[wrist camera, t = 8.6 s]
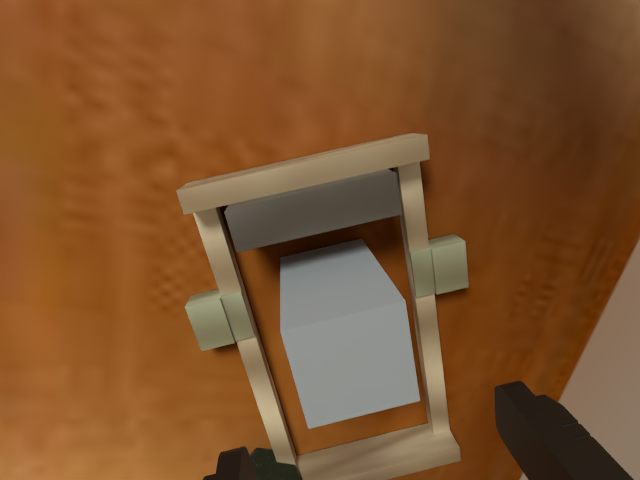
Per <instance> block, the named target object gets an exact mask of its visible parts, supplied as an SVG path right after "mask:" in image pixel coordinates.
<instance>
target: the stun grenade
mask: <svg viewBox="0 0 640 480" xmlns="http://www.w3.org/2000/svg"><path fill="white" fill-rule="evenodd" d="M249 456H250V458H251V461H252V464H253V466H254V469H255V471H256V474H257V477H258V480H303V479H302V477H301V475H300V473H299V471H298V469H297V467H296V465H294V464H287V463H280V462H277V461H276V458H275V455H274V452H273V449H262V448H256V449H255V450H254V451H253V452H252V453H251V454H250V455H249Z"/></svg>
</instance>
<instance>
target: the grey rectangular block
mask: <svg viewBox="0 0 640 480" xmlns="http://www.w3.org/2000/svg"><path fill="white" fill-rule="evenodd" d="M280 332H281V336H282V339H283V343H284V346H285V349H286V353H287V356H288V360H289V363H290V367H291V370H292V374H293V377H294V381H295V384H296V388H297V391H298V395H299V398H300V402H301V405H302V409H303V412H304V416H305V419H306V423H307V426H308V429H310V428H314V427H318V426H322V425H326V424H330V423H334V422H338V421H342V420H346V419H350V418H354V417H358V416H362V415H366V414H370V413H374V412H378V411H382V410H386V409H390V408H394V407H398V406H402V405H406V404H410V403H414V402H417V401H420V396H419V390H418V383H417V376H416V369H415V362H414V355H413V349H412V342H411V335H410V328H409V321H408V315H407V308H406V301H405V300H404V298H403V297H402V296H401V294H400V293H399V291H398V290H397V288H396V287H395V285H394V284H393V283H392V281H391V280H390V278H389V277H388V275H387V274H386V273H385V271H384V270H383V268H382V267H381V265H380V264H379V263H378V261H377V260H376V258H375V257H374V255H373V254H372V253H371V251H370V250H369V248H368V247H367V245H366V244H365V242H364V241H363V240H362V238H361V239H357V240H353V241H349V242H344V243H340V244H336V245H332V246H327V247H323V248H319V249H315V250H310V251H306V252H302V253H298V254H293V255H289V256H285V257H280Z"/></svg>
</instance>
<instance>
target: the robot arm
mask: <svg viewBox="0 0 640 480" xmlns="http://www.w3.org/2000/svg"><path fill="white" fill-rule="evenodd" d="M495 418H496V426H497V429H498V432H499V434H500V436H501V439H502V440H503V442H504V444H505V445H506V447H507V448H508V450H509V451H510V453H511V454H512V456H513V457H514V459H515V460H516V462H517V463H518V465H519V466H520V468H521V469H522V471H523V472H524V474H525V475H526V476H527V478H528V479H529V480H633V479H632V478H631V477H630V475H629V474H628V473H627V472H626V471H625V470H624V469H623V468H622V467H621V466H620V465H619V464H618V463H617V462H616V461H615V460H614V459H613V458H612V457H611V455H610V454H609V453H608V452H607V451H606V450H605V449H604V448H603V447H602V446H601V445H600V444H599V443H598V442H597V441H596V440H595V439H594V438H593V437H591V436H590V433H589V432H588V431H587V430H586V429H585V428H584V427H583V426H582V425H581V424H579V423H578V421H577V420H576V419H575V418H574V417H573V416H572V415H571V414H570V413H569V412H568V410H567V409H565V407H564V406H562V405H561V404H559V403H558V402H556V401H554V400H553V399H551V398H549V397H548V396H546V395H544V394H543V395H539V396H535V395H534V394H533V393H532V392H531V391H530V390H529V388H528V387H527V386H526V385H525V384H524V383H523V382H521V381H516V382H511V383H507V384H503V385H499V386H496V387H495ZM203 480H258V477H257V474H256V471H255V469H254V466H253V464H252V461H251V458H250V456H249V453H248V451H247V448H246V447H241V448H236V449H232V450H228V451H224V452H221V453H220V455H219V458H218V464H217V470H216V474H213V475H209V476H205V477H204V479H203Z"/></svg>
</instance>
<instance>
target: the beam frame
mask: <svg viewBox="0 0 640 480" xmlns="http://www.w3.org/2000/svg"><path fill="white" fill-rule="evenodd" d="M428 159H430V155H429V145H428V136H427V134H416V133H407V134H403V135H398V136H394V137H389V138H385V139H380V140H376V141H372V142H367V143H363V144H358V145H354V146H349V147H345V148H340V149H336V150H331V151H327V152H322V153H318V154H313V155H309V156H304V157H300V158H295V159H291V160H287V161H282V162H278V163H273V164H269V165H264V166H260V167H255V168H251V169H246V170H242V171H237V172H233V173H228V174H224V175H219V176H215V177H210V178H206V179H202V180H197V181H193V182H188V183H187V184H185V185H184V186H182V187H181V188H180V189H178V190H177V191H176V192H177V195H178V198H179V201H180V204H181V207H182V210H183V213H184V215H185V214H190V213H193V214H194V217H195V220H196V223H197V226H198V229H199V232H200V235H201V238H202V241H203V244H204V247H205V250H206V253H207V256H208V259H209V262H210V265H211V268H212V271H213V274H214V277H215V280H216V283H217V286H218V288H219V289H217V290H213V291H209V292H204V293H200V294H196V295H192V296H190V298H189V300H188V302H187V304H186V306H185V309H186V312H187V314H188V317H189V320H190V322H191V325H192V328H193V330H194V333H195V335H196V338H197V341H198V343H199V346H200V349H201V351H204V350H208V349H212V348H216V347H220V346H225V345H229V344H233V343H235V341H236V342H237V345H238V348H239V351H240V354H241V357H242V360H243V363H244V366H245V369H246V372H247V375H248V378H249V381H250V384H251V387H252V390H253V393H254V396H255V399H256V402H257V405H258V408H259V411H260V414H261V417H262V419H263V422H264V425H265V428H266V431H267V434H268V437H269V440H270V443H271V446H272V449H273V452H274V455H275V458H276V461H277V462H280V463H287V464H294V465H296V467H297V469H298V471H299V473H300V475H301V477H302V479H303V480H388V479H392V478H396V477H399V476H403V475H407V474H411V473H415V472H419V471H423V470H427V469H431V468H435V467H438V466H442V465H446V464H450V463H454V462H458V461H461V456H460V448H459V446H458V444H457V442H456V440H455V439H454V437H453V435H452V433H451V431H450V427H449V419H448V410H447V401H446V392H445V383H444V374H443V365H442V356H441V348H440V339H439V330H438V321H437V312H436V303H435V294H434V293H436V294H442V293H446V292H450V291H454V290H458V289H462V288H467V287H469V284H468V270H467V257H466V244H465V241H464V240H463V239H461V238H460V237H458V236H456V235H455V234H452V235H448V236H444V237H439V238H435V239H431V240H428V232H427V223H426V215H425V206H424V197H423V188H422V179H421V170H420V161H424V160H428ZM388 168H393V171H394V172H393V171H391V170H389V169H388ZM225 205H228V207H227V208H226V210H225V211H224V213H225V217H226V220H227V223H228V226H229V230H230V233H231V236H232V239H233V243H234V246H235V249H236V252H241V251H246V250H250V249H254V248H259V247H263V246H267V245H272V244H276V243H280V242H285V241H289V240H293V239H298V238H302V237H306V236H311V235H315V234H319V233H324V232H328V231H332V230H337V229H341V228H345V227H350V226H354V225H358V224H363V223H367V222H371V221H376V220H380V219H384V218H389V217H393V216H397V215H400V222H401V229H402V236H403V244H404V251H405V258H406V265H407V273H408V280H409V287H410V295H411V302H412V309H413V316H414V324H415V331H416V338H417V345H418V353H419V360H420V367H421V374H422V382H423V389H424V396H425V403H426V411H427V418H428V423H426V424H422V425H418V426H414V427H410V428H406V429H402V430H398V431H394V432H390V433H386V434H382V435H378V436H374V437H370V438H366V439H362V440H358V441H355V442H351V443H347V444H343V445H339V446H335V447H331V448H327V449H323V450H319V451H315V452H311V453H307V454H303V455H299V456H296V453H295V450H294V447H293V443H292V440H291V437H290V434H289V430H288V427H287V424H286V421H285V417H284V414H283V411H282V408H281V405H280V401H279V398H278V395H277V392H276V388H275V385H274V382H273V379H272V375H271V372H270V369H269V366H268V362H267V359H266V356H265V353H264V349H263V346H262V343H261V340H260V337H259V333H258V330H257V327H256V324H255V320H254V317H253V314H252V311H251V307H250V304H249V301H248V298H247V294H246V291H245V288H244V285H243V281H242V278H241V275H240V272H239V269H238V265H237V262H236V259H235V256H234V252H233V249H232V246H231V243H230V239H229V236H228V233H227V230H226V226H225V223H224V220H223V217H222V213H221V210H220V207H221V206H225Z"/></svg>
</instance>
